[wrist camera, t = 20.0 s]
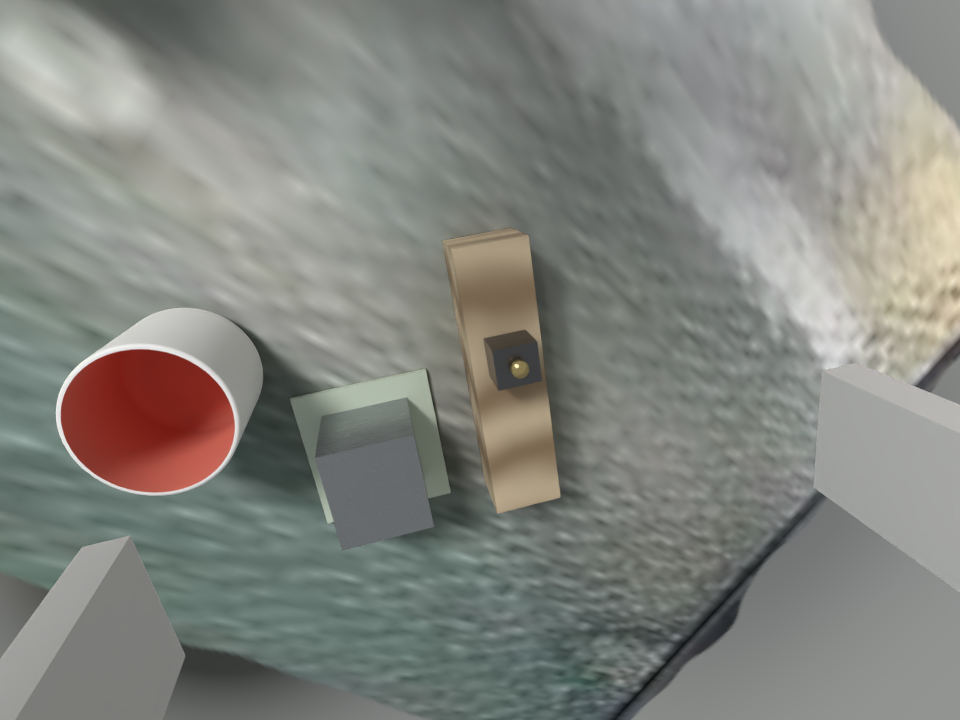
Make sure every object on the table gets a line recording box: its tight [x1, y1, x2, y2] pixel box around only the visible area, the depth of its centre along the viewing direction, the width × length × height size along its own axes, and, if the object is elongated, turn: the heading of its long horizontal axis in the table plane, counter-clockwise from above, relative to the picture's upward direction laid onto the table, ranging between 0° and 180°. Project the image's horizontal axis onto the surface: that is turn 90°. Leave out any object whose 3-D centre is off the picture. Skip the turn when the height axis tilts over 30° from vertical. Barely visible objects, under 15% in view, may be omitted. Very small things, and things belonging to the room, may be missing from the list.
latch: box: [483, 330, 542, 391], centre depth 40 cm, size 3×3×4 cm
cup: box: [56, 308, 263, 496], centre depth 38 cm, size 10×10×10 cm
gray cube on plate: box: [315, 397, 434, 550], centre depth 44 cm, size 8×7×7 cm
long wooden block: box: [443, 228, 561, 514], centre depth 45 cm, size 22×6×5 cm, turn 9°
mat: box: [290, 369, 451, 523], centre depth 47 cm, size 12×11×1 cm
